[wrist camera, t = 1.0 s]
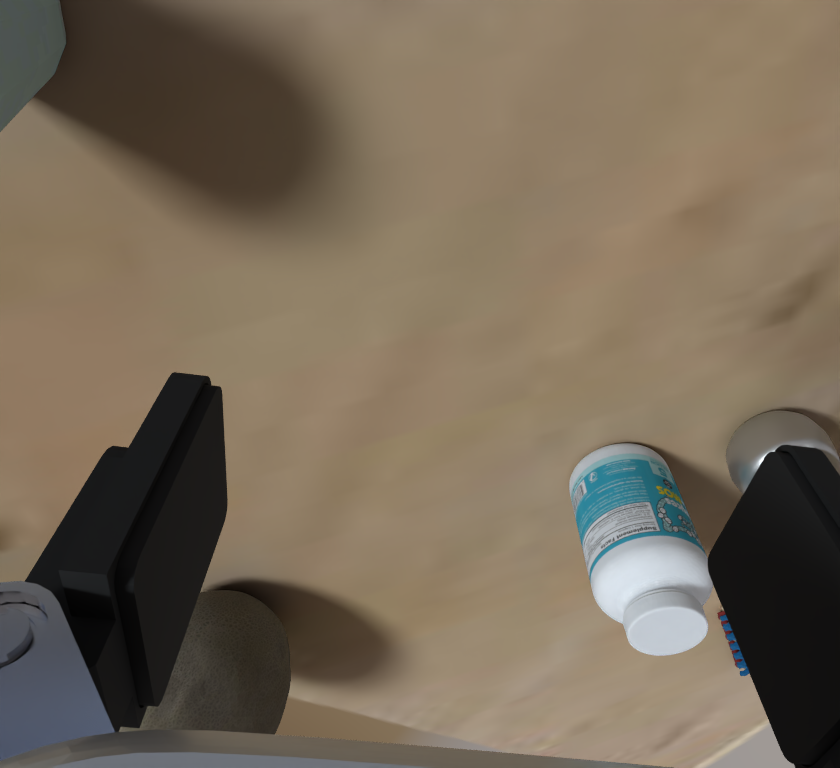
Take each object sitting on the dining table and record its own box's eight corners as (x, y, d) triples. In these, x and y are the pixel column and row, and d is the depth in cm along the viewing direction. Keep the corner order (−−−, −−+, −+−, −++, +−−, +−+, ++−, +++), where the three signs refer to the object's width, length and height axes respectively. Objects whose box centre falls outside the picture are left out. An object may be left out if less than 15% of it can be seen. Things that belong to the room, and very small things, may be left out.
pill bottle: (677, 493, 51) (743, 653, 40) (583, 521, 53) (622, 680, 42) (654, 424, 47) (720, 580, 36) (553, 456, 49) (588, 613, 38)
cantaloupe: (233, 532, 55) (175, 711, 42) (333, 623, 62) (308, 800, 49) (110, 587, 59) (26, 763, 47) (216, 666, 66) (167, 839, 54)
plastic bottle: (696, 448, 49) (829, 720, 32) (767, 382, 45) (956, 649, 29) (761, 481, 50) (917, 754, 34) (834, 420, 47) (1047, 692, 31)
